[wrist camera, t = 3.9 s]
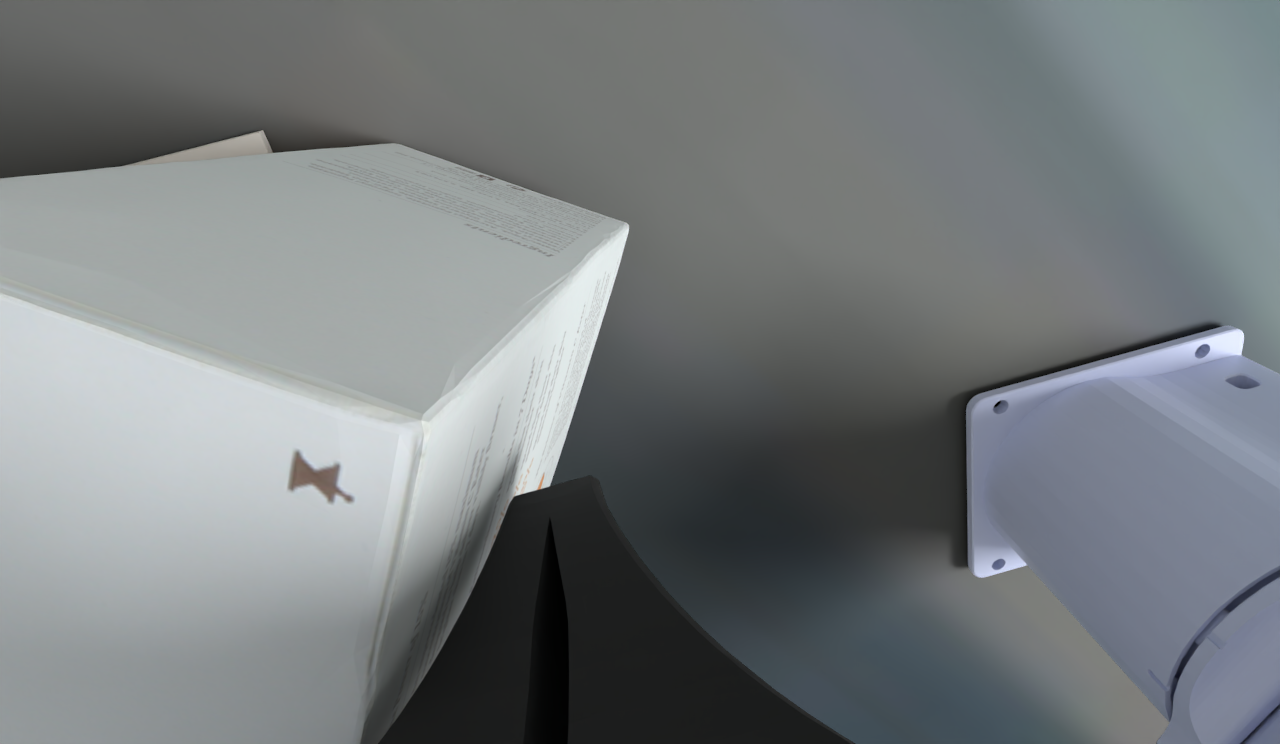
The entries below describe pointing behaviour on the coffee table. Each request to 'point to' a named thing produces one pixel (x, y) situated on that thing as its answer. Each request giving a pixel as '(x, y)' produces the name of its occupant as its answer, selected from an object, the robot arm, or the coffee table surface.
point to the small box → (269, 432)
